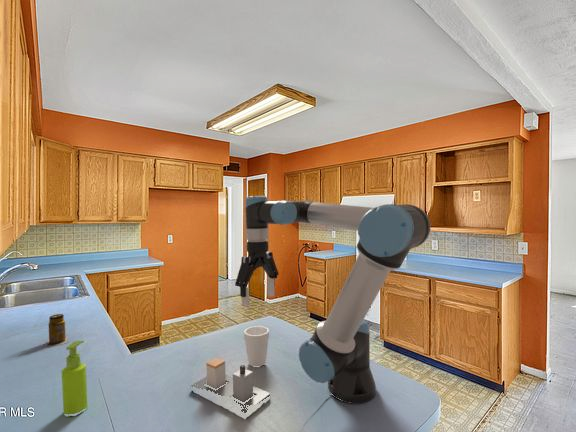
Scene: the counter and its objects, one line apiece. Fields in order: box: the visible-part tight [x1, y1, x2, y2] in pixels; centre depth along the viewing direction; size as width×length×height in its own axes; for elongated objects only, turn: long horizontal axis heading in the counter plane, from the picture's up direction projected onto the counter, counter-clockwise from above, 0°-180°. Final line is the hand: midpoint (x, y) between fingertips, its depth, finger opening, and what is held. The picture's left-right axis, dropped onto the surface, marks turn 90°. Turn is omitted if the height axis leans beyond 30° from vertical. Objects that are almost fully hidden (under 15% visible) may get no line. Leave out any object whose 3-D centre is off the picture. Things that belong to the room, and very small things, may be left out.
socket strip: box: [190, 373, 271, 413], centre depth 99 cm, size 24×11×2 cm, turn 54°
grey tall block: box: [232, 364, 254, 402], centre depth 95 cm, size 4×4×11 cm
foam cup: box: [243, 325, 270, 367], centre depth 118 cm, size 10×9×13 cm
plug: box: [206, 357, 227, 389], centre depth 102 cm, size 4×4×9 cm
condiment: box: [46, 313, 69, 348], centre depth 142 cm, size 7×8×12 cm
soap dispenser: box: [61, 340, 88, 415], centre depth 94 cm, size 6×7×20 cm
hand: (258, 300), depth 110 cm, fingers open, 13 cm apart
